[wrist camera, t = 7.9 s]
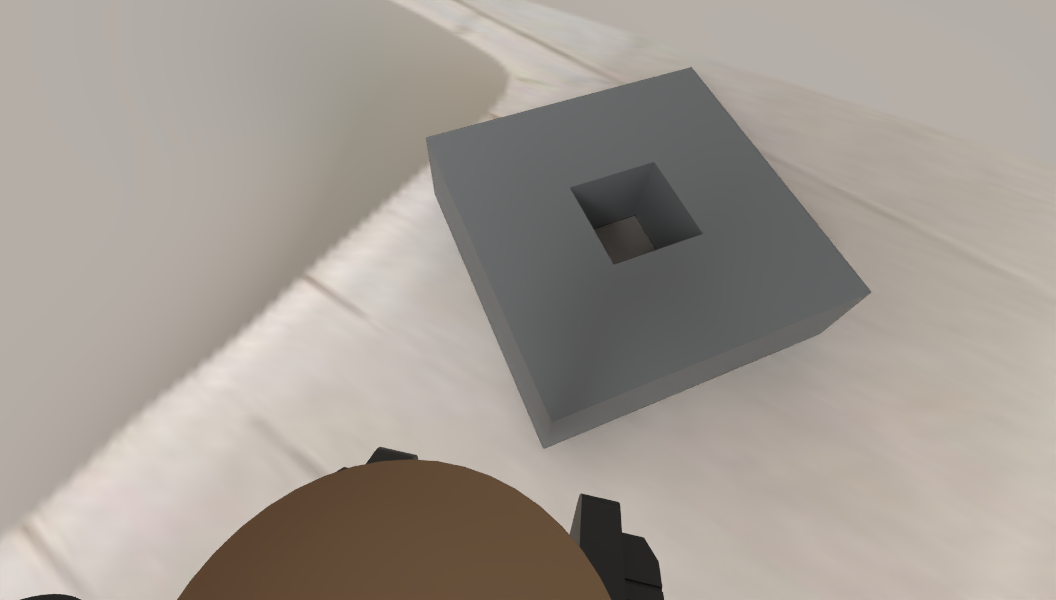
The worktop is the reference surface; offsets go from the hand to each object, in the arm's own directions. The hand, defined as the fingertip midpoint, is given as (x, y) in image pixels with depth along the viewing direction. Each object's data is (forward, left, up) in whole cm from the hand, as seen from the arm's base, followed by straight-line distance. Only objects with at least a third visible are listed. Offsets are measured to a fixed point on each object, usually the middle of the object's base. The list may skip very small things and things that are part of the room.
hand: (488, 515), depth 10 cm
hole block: (-12, -11, -14) cm, 22 cm away
